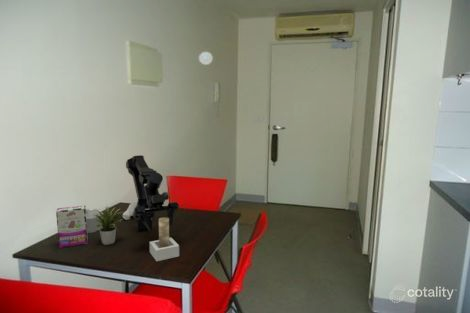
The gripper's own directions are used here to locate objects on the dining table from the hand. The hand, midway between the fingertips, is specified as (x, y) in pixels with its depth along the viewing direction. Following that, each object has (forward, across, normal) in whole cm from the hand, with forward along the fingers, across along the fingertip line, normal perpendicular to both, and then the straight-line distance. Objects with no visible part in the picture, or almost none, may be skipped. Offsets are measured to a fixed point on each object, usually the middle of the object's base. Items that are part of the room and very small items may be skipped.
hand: (160, 227), depth 133 cm
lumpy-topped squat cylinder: (-22, -23, +37) cm, 49 cm away
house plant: (-5, -19, +20) cm, 28 cm away
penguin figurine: (-25, -2, +40) cm, 48 cm away
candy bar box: (-9, -32, +24) cm, 41 cm away
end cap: (+10, 0, +4) cm, 11 cm away
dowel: (+9, 0, +3) cm, 10 cm away
